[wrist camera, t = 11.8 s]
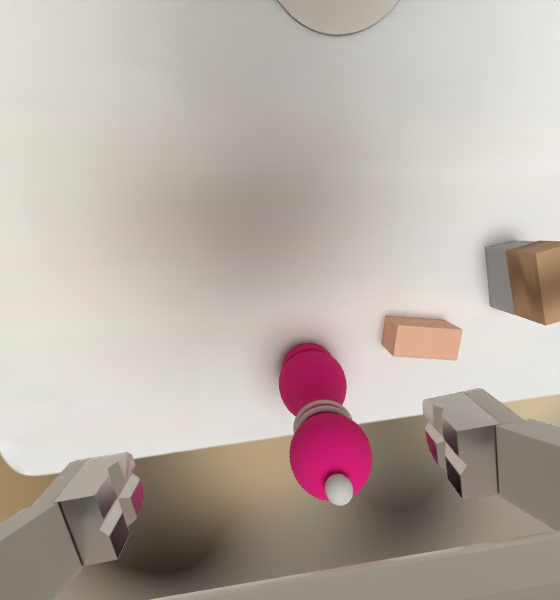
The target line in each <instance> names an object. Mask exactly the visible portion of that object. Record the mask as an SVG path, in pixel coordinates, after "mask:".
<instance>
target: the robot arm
mask: <svg viewBox="0 0 560 600" xmlns="http://www.w3.org/2000/svg"><path fill="white" fill-rule="evenodd" d="M278 1H279V2H280V3H281V4H282V6H283V7H284V8H285V9H286V10H287V11H288V13H289V14H290V15H292V16H293V17H294V18H295V19H296V20H297V21H299V22H300V23H302V24H303V25H305V26H307V27H309V28H311V29H313V30H315V31H318V32H322V33H326V34H334V35H342V34H350V33H355V32H358V31H361V30H364V29H366V28H368V27H370V26H372V25H373V24H375V23H377V22H378V21H379V20H381V19H382V18H383V17H384V16H386V15H387V14H388V13H389V12H390V11H391V9H392V8H393V7H394V6H395V5H396V3H397V2H398V1H399V0H278ZM423 414H424V415H425V416H426V418H427V419H428V421H429V422H428V424H427V426H426V428H425V434H426V440H427V444H428V447H429V450H430V452H431V454H432V456H433V458H434V460H435V461H436V463H437V464H438V465H439V466H440V467H443V468H444V469H446V470H447V477H448V480H449V481H450V483H451V484H452V486H453V487H454V488H455V490H456V491H457V493H458V494H459V495H460V497H461V498H462V499H463V500H464V499H471V498H479V497H485V496H493V495H500V497H501V498H503V499H505V500H506V501H508V502H510V503H512V504H513V505H515V506H516V507H518V508H520V509H521V510H523V511H525V512H526V513H528V514H530V515H531V516H533V517H535V518H536V519H538V520H539V521H541V522H543V523H544V524H546V525H548V526H549V527H551V528H553V529H554V530H556V531H550V532H545V533H539V534H533V535H528V536H522V537H516V538H511V539H505V540H499V541H493V542H487V543H481V544H475V545H469V546H463V547H457V548H451V549H445V550H439V551H434V552H427V553H422V554H416V555H410V556H404V557H398V558H392V559H386V560H380V561H374V562H368V563H362V564H356V565H350V566H344V567H338V568H333V569H326V570H320V571H315V572H309V573H304V574H297V575H292V576H286V577H280V578H274V579H268V580H262V581H256V582H251V583H245V584H239V585H233V586H228V587H221V588H216V589H210V590H205V591H198V592H193V593H186V594H180V595H174V596H169V597H162V598H157V599H151V600H560V427H557V426H553V425H550V424H546V423H543V422H539V421H536V420H532V419H528V420H523V419H522V418H521V417H520V416H518V415H517V414H516V413H514V412H513V411H511V410H510V409H509V408H507V407H506V406H505V405H503V404H502V403H501V402H499V401H498V400H497V399H495V398H494V397H493V396H491V395H490V394H489V393H487V392H486V391H485V390H483V389H480V388H477V389H472V390H467V391H463V392H459V393H454V394H449V395H444V396H439V397H435V398H430V399H425V400H423ZM134 468H135V462H134V459H133V457H132V455H131V454H130V453H128V452H125V453H119V454H112V455H106V456H99V457H93V458H87V459H81V460H76V461H73V462H71V463H69V464H68V466H67V467H66V468H65V469H64V470H63V471H62V472H61V473H60V475H59V476H58V477H57V478H56V479H55V480H54V481H53V482H52V484H51V485H50V486H49V487H48V488H47V489H46V490H45V491H44V493H43V494H42V495H41V496H40V497H39V498H38V499H37V500H36V502H35V503H34V504H33V505H32V506H31V507H29V508H24V509H23V510H21V511H19V512H18V513H17V514H15V515H13V516H12V517H10V518H9V519H7V520H5V521H4V522H2V523H1V524H0V600H53V599H54V598H55V597H56V596H57V595H58V594H59V593H60V591H62V589H64V587H65V586H66V585H67V584H68V583H69V582H70V581H71V580H72V579H73V578H74V577H75V576H76V575H77V574H78V572H80V571H81V569H82V566H87V565H92V564H96V563H101V562H106V561H111V560H116V559H118V557H119V555H120V553H121V551H122V549H123V546H124V544H125V542H126V540H127V538H128V536H129V530H128V526H129V525H130V524H131V523H132V522H134V521H135V520H136V519H137V517H138V515H139V513H140V510H141V508H142V502H143V488H142V484H141V481H140V479H139V478H138V477H137V476H135V475H134V474H133V470H134Z"/></svg>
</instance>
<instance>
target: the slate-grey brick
mask: <svg viewBox="0 0 560 600" xmlns="http://www.w3.org/2000/svg"><path fill="white" fill-rule="evenodd" d="M533 242H534V241H512V242H508V243H503V244H498V245H494V246H489V247H485V253H486V264H487V276H488V288H489V299H490V306H491V307H494V308H496V309H499V310H502V311H505V312H508V313H511V314H513V315H514V314H515V311H514V305H513V298H512V292H511V286H510V279H509V273H508V267H507V260H506V254H505V251H506V250H510V249H513V248H516V247H520V246H523V245H526V244H530V243H533Z"/></svg>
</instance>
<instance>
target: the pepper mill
mask: <svg viewBox="0 0 560 600" xmlns="http://www.w3.org/2000/svg"><path fill="white" fill-rule="evenodd" d="M346 388H347V385H346V378H345V375H344V372H343V370H342V368H341V366H340V365H339V363H338V362H337V361H336V360H335V359H334V358H332V357H331V355H330V353H329V352H328V351H327V350H326V349H324V348H323V347H321V346H319V345H316V344H302V345H299V346H297V347H295V348H293V349H292V350H291V351H290V352H289V353H288V354H287V355H286V357H285V359H284V362H283V367H282V371H281V374H280V378H279V390H280V394H281V398H282V400H283V402H284V404H285V406H286V407H287V409H288V410H289V411H290V412H291V413H292V414H293V415H295V416H296V418H295V421H294V436H293V439H292V441H291V446H290V463H291V468H292V471H293V473H294V476H295V478H296V479H297V481H298V483H299V484H300V485H301V486H302V488H303V489H304V490H305V491H307V492H308V493H309V494H311V495H312V496H314V497H316V498H319V499H321V500H327V501H331V502H332V503H333V504H336V505H345V504H347V503H348V502H349V501H350V500H351V498H352V496H353V495H355V494H356V493H357V492H358V491H360V490H361V489H362V487H363V486H364V484H365V483H366V482H367V480H368V477H369V475H370V472H371V468H372V452H371V448H370V445H369V441H368V438H367V437H366V435H365V433H364V432H363V430H362V429H361V428H360V427H359V425H358V424H356V423H355V422H354V421H353V420H352V417H351V415H350V413H349V412H348V411H347V409H346V408H345V407H343V406H342V404H343V402H344V399H345V395H346Z"/></svg>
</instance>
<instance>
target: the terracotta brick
mask: <svg viewBox="0 0 560 600" xmlns="http://www.w3.org/2000/svg"><path fill="white" fill-rule="evenodd" d="M461 335H462V329H460V328H458V327H457V326H455V325H453V324H451V323H449V322H447V321H445V320H436V319H422V318H407V317H393V316H386V319H385V326H384V333H383V339H382V345H383V346H384V347H385V348H386V349H387V350H388V351H389V352H390V353H391V354H392V355H393V356H397V357H412V358H427V359H442V360H457V356H458V351H459V346H460V340H461Z"/></svg>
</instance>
